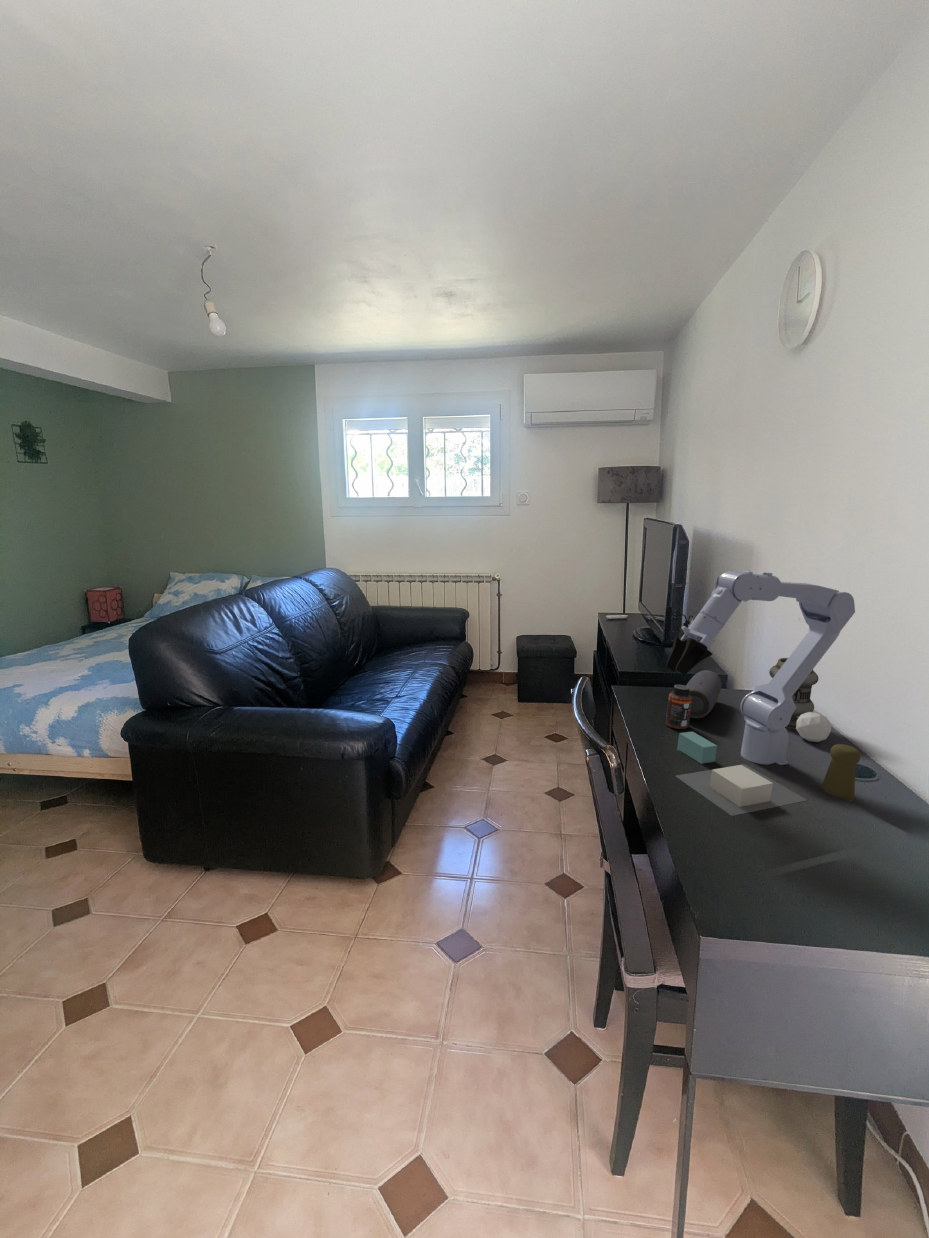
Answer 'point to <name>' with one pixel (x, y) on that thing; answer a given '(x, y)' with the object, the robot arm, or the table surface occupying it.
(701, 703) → the bluetooth speaker
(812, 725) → the geometric ball
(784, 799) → the baseplate
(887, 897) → the table surface
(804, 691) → the apothecary jar
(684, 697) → the supplement bottle
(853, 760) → the cork
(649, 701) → the table surface
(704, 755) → the top brick
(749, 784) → the base brick
